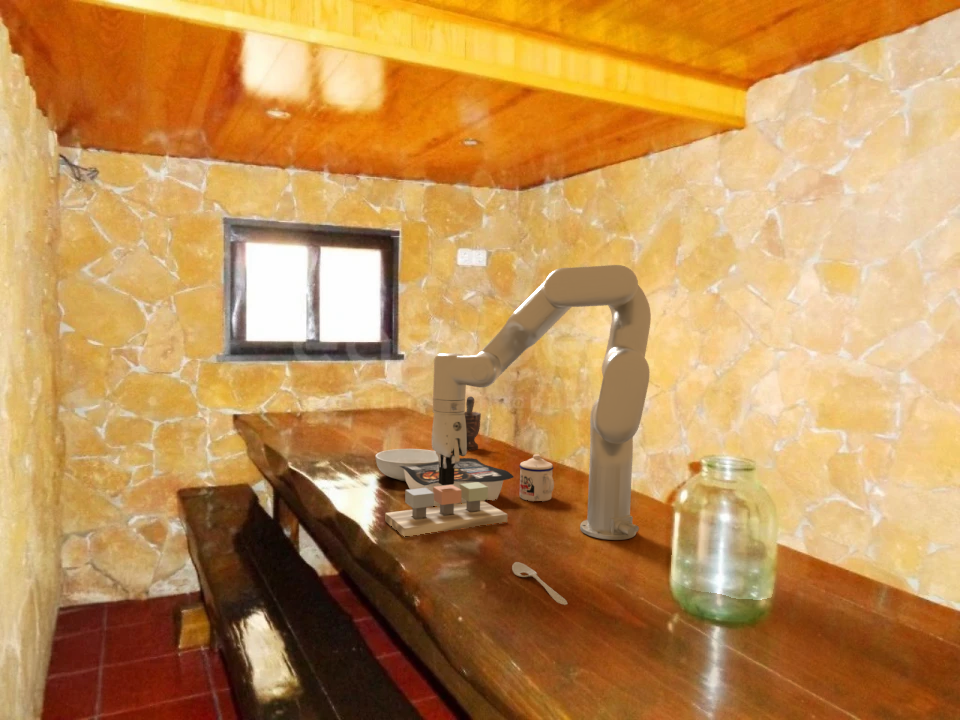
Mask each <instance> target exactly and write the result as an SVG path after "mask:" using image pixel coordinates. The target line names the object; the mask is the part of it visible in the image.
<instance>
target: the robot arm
mask: <svg viewBox="0 0 960 720" xmlns="http://www.w3.org/2000/svg"><path fill="white" fill-rule="evenodd" d="M601 306H608V308H609V310H610V313H611V324H610V327H609V329H610V330H609V336H608V341H607V344H606V345H607V346H606V350H605V354H604V358H603V361H602V364H601V374H602V381H601V384H600V385H601V386H600V391H599V395H598V398H597V399H596V400H595V401H594V403H593V405H592V407H591V411H590V416H589V418H590V420H589V423H590V424H589V427H590V431H589V432H590V434H589V436H590V437H589V438H590V440H589V441H590V443H589V463H588V464H589V468H588V470H589V471H588V492H587V493H588V495H587V497H588V498H587V518H586V519H585V520H583V521H582V522H581V523H580V527H579V528H580V531H581V532H582V533H584V534H585V535H587V536H588V537H592V538H596V539H601V540H609V541H621V540H622V541H623V540H628V539H631V538H634V537H635V536H636V534H637V533H638V531H639V529H640V527H639V526H638V525H637V524H634V523H633V518H634V517H633V516H632V515H631V503H632V502H631V495H632V476H633V475H632V473H633V472H632V471H633V456H634V455H633V454H634V452H633V451H634V450H633V449H634V444H633V443H634V436H635V435H636V433H637V432H638V430H639V428H640V425H641V421H642V416H643V412H644V407H645V401H646V397H647V392H648V388H649V382H650V373H651V372H650V366H649V363H648V361H647V359H646V358H645V357H646V351H647V347H648V341H649V334H650V329H651V322H652V321H651V315H652V314H651V308H650V304H649V301H648V298H647V296H646V294H645V292H644V290H643V289H642V288H641V286H640V285H639V281H638V277H637V275H636V274H635V272H634V271H633V270H632V269H631V268H630V267H628V266H626V265H622V264H610V265H608V264H607V265H594V266H578V267H574V266H573V267H561V268H556V269H554V270H553V271H551V272H550V273H549V274H548V275H547V277H546V279H545V280H544V281H543V282H542V283H541V284H540V285H539V286H538V287H537V288H536V289H535V290H534V291H533V292H532V293H531V294H530V295H529V297H527V299H525V301H524V302H522V303H521V304H520V305H519V307H518V308H517V309H516V310H514V311H513V313H511V315H510V316H509V317H508V319H507V321H506V323H505V324H504V326H503V327H502V328H501V330H500V331H499V332H497V334H496V335H495V336H494V337H493V338H492V339H491V341H489V342H488V343H487V344H486V345H485V346H484V347H483V348H482V349H481V350H480V351H479V352H478V353H477V354H475V355H474V354H473V355H464V354H462V353H457V352H456V353H454V352H440V353H438V354H436V355H435V356H434V361H433V387H432V388H433V389H432V390H433V393H432V394H433V395H432V413H433V420H432V429H431V448H432V451H436V455H437V456H438V461H439V466H440V467H439V484H441V485H452V484H454V468H455V466H456V463H459V462H460V459H459V458H460V456H461V457H465V456H466V455H467V452H468V450H467V437H466V421H465V414H464V413H465V412H466V391H467V390H466V388H467V387H466V386H468V387H469V386H470V387H474V388H486V387H487V388H488V387H489V386H492V385H493V383H494V382H495V381H496V380H497V379H498V378H499V377H500V376H501V375H502V374H503V373H504V372H505V371H506V370H507V369H508V368H509V367H510V366H511V365H512V364H513V363H514V362H516V360H517V359H518V358H520V356H521V355H522V354H523V353H524V352H525V351H527V350H528V349H529V348H531V347H532V346H534V345H535V344H536V343H537V342H538V341H539V340H540V339H542V338H543V336H544V335H545V334H547V332H549V330H550V329H551V328H552V327H553V326H554V325H555V324H556V323H558V321H559V320H560V319H561V318H562V317H564V316H565V314H566V313H568V311H569V310H570V309H572V308H575V307H576V308H578V307H581V308H582V307H584V308H585V307H601Z"/></svg>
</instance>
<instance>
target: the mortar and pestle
mask: <svg viewBox="0 0 960 720" xmlns="http://www.w3.org/2000/svg"><path fill="white" fill-rule="evenodd" d="M474 406H475V397H473V396H467V398H466V401H465V407H466V411H465V413H464V414H465V421H466V437H467V451H476V450H478V449H479V444H478V443H476V437H477V436H478V435H479V433H480V428H481V418H482V417H481V415H482V413H480V412H478V411H473V410H474Z"/></svg>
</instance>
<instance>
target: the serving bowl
mask: <svg viewBox="0 0 960 720" xmlns="http://www.w3.org/2000/svg"><path fill="white" fill-rule="evenodd" d="M375 462H376V466H377V468H378V469H379V471H380V472H381V473H382V474H384V475H385V476H387V477H389V478H391V479H396V480H398V481H402V482H406V479H405V473H404V469H403V468H402V467H399V466H415V465H423V464H429V463H434V462H439V461H438V456H437V455H436V451H434V450H432V449H431V450H429V449H420V448H396V449H388V450H383V451H380V452H378V453H376V454H375Z"/></svg>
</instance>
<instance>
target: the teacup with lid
mask: <svg viewBox="0 0 960 720" xmlns="http://www.w3.org/2000/svg"><path fill="white" fill-rule="evenodd" d="M519 468H520V472H519V498H521V499H522V500H525V501H527V500H528V502H534V501H542V502H547V501H550V500H552V495H553V491H554V486H555V481H554V479H553V470H554V465H553V463H551V462H549V461H547V460H546V459H543V458H542V457H541V455H540V454H538V453H537V454H535V453H534V454H533V456H532V457H531V458H529V459H527V460H525V461H522V462H520V464H519Z"/></svg>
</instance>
